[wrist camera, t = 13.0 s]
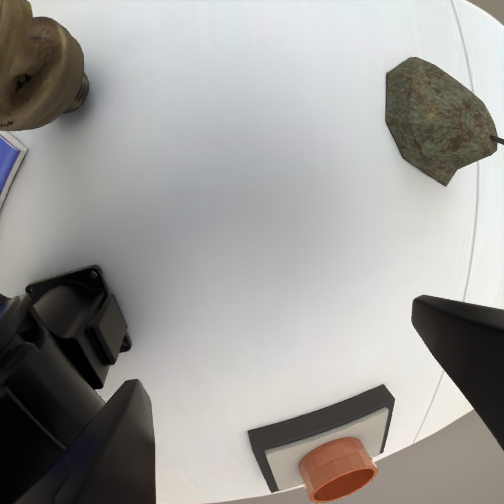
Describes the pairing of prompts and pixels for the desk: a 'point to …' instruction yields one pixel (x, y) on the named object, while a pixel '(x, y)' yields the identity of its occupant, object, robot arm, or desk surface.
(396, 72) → the sword in stone
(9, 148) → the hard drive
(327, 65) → the desk surface
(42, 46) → the light bulb
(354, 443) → the bowl
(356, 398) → the scale
